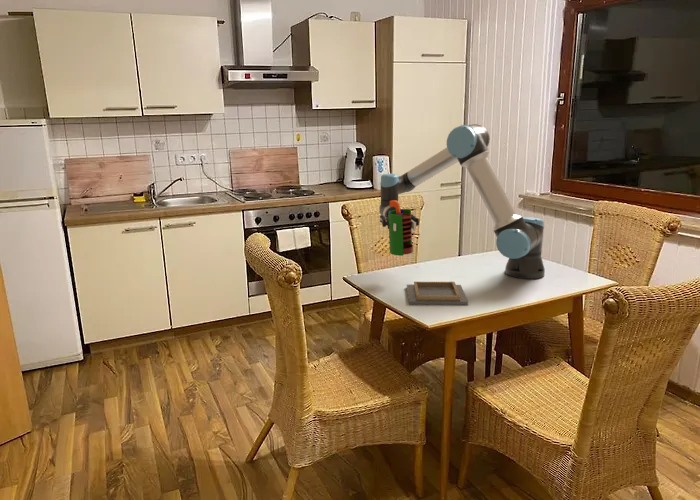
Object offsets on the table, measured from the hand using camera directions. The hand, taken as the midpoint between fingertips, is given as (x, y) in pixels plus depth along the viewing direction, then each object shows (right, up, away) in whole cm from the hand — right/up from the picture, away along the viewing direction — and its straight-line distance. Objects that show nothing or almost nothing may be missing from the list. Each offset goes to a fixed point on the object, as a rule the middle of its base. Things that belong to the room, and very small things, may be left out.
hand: (405, 227), depth 195 cm
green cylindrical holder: (-1, -9, +8) cm, 12 cm away
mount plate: (+11, -25, -6) cm, 28 cm away
